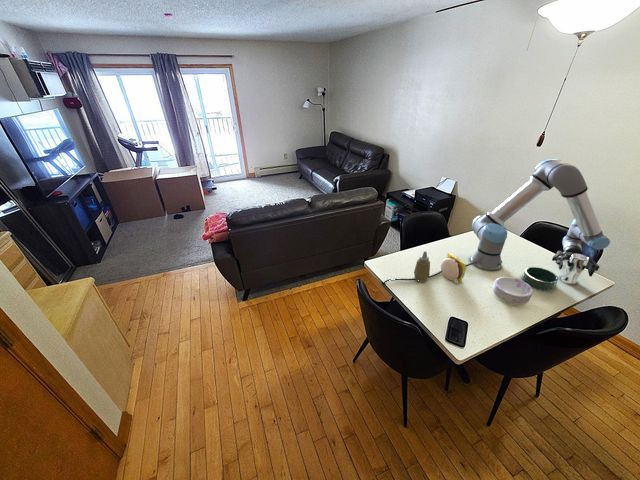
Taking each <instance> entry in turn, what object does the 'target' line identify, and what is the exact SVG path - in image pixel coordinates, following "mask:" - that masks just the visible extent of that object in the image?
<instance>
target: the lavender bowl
mask: <svg viewBox="0 0 640 480" xmlns="http://www.w3.org/2000/svg"><path fill="white" fill-rule="evenodd" d="M492 292H493V294H495V296H496V297H497V298H498V299H499V300H500V301H502V302H504V303H505V304H508V305H513V306H519V305H525V304H528V303H529V302H530V301H531V299H532V296H533V294H534V288H532V287H531V286H530V285H528V284H527V283H526V282H524V281H523V280H522V279H519V278H517V277H512V276H501V277H497V278H496V279H495V280H494V283H493V286H492Z"/></svg>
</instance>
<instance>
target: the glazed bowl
mask: <svg viewBox="0 0 640 480" xmlns="http://www.w3.org/2000/svg"><path fill="white" fill-rule="evenodd" d="M521 280H522V281H524V282H526V283H527V284H528V285H530V286H531V288H532V289H536V290H538V291H544V292H546V291H552V290H554V289H555V287H556V285H557V283H558V281H559V277H558V275H556V273H554V272H553V271H551V270H549V269H546V268H543V267H538V266H528V267H526V268H525V270H524V271H523V273H522V276H521Z"/></svg>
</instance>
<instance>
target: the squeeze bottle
mask: <svg viewBox="0 0 640 480" xmlns="http://www.w3.org/2000/svg"><path fill="white" fill-rule="evenodd" d="M415 263H416V264H415V267H414V271H413V275H414V279H415V278H416V280H415V281H417V282H419V283H425V282H427V280H428V279H429V278H428V277H429V276H431V275H430V272H431V261H430V257H429V256H428V252H427V250H424V251H423V253H422V255H420V256H419V258H418V259H417V260H416V262H415ZM418 280H419V281H418Z"/></svg>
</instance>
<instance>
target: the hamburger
mask: <svg viewBox="0 0 640 480" xmlns="http://www.w3.org/2000/svg"><path fill="white" fill-rule="evenodd" d="M466 265H467V264H466V263H465V262H464V261H462V260H461V258H459V257H458V256H455V255H453V254H452V253H449V252H447V254H446V258H444V259H443V260H442V261H441V263H440V271H442V273H441V274H442V275H443V277H445V278H446V279H447V280H449V281H453V282H454V283H455V284H459V283H460V284H461V283H462V281H463V278H464V277H465V274H466V268H467V267H466Z"/></svg>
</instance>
